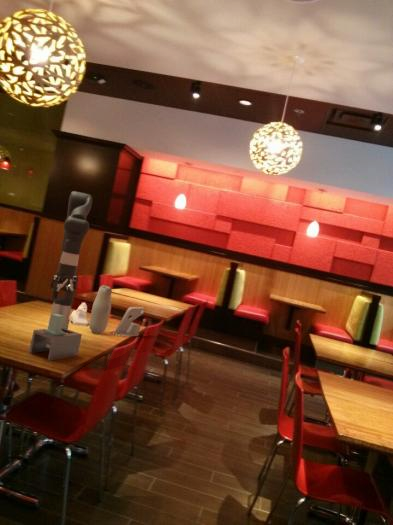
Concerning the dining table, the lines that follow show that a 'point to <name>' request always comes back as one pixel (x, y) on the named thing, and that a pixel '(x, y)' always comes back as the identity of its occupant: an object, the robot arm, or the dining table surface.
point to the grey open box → (56, 343)
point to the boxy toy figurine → (54, 326)
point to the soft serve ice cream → (80, 315)
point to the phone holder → (129, 322)
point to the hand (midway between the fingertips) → (61, 299)
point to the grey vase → (101, 310)
